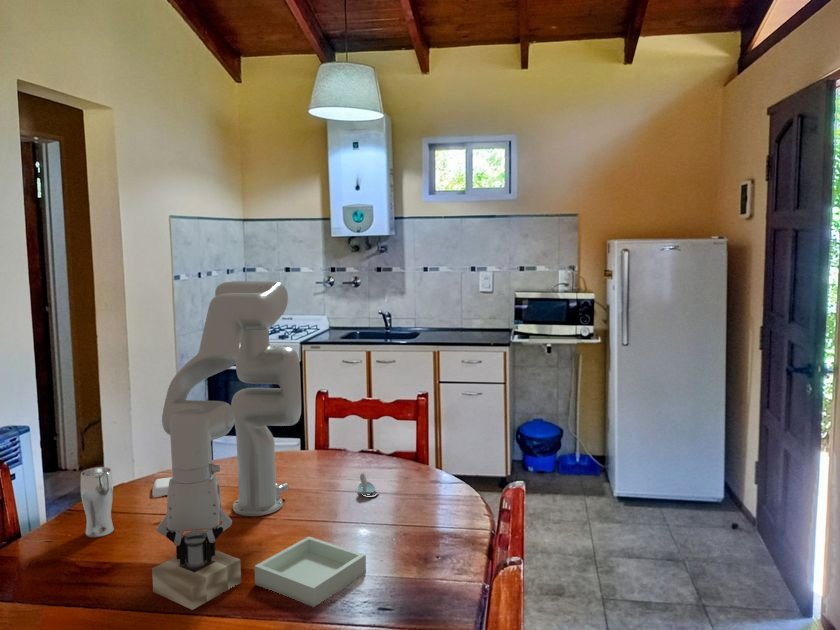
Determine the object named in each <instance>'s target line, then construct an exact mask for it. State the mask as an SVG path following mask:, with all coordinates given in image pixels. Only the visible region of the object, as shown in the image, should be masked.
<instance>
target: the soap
mask: <svg viewBox="0 0 840 630" xmlns="http://www.w3.org/2000/svg"><path fill="white" fill-rule="evenodd" d="M171 478H172V476H170V477H163V478H157V479H155V480H154V484H153V485H152V491H151V492H152V493H151V494H152V497H153V498H163V497H162V496H167V495H168V487H169V481H170V479H171Z"/></svg>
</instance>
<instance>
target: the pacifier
mask: <svg viewBox="0 0 840 630" xmlns="http://www.w3.org/2000/svg"><path fill="white" fill-rule="evenodd" d="M359 480H360V483H359V484H358V486H357V489H358V490H357V492H356V493H357V494H358V495H359V494H360V495H361V494H363V495H366V496H371V495H372V494H373V493H374V492H375V489H376V488H375V485H374V484H373V483H371V482H370V481H367V476H366V474H365V472H361V474H360V476H359ZM375 493H376V492H375ZM367 494H370V495H367Z"/></svg>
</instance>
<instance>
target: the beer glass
mask: <svg viewBox="0 0 840 630" xmlns="http://www.w3.org/2000/svg"><path fill="white" fill-rule="evenodd" d="M80 497H81V498H80V499H81V502H82V505H83V509H84V510H83V511H84V513H85V517H86V528H85V536H87V537H88V538H101V537H104V536H107V535H110V534H111V533H113V531H114V529H115V528H114V525H113V520H112V506H113V497H114V481H113V475H112V469H111V468H110V467H106V466H98V467H96V466H95V467H91V468H87V469H85V470H83V471H82V472H81V473H80Z"/></svg>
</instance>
